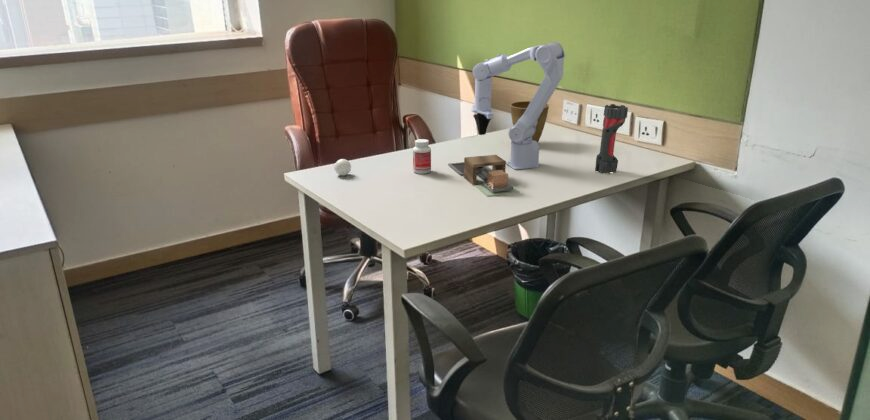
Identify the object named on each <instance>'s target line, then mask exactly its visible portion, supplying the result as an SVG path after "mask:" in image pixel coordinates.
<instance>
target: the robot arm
mask: <svg viewBox="0 0 870 420" xmlns="http://www.w3.org/2000/svg"><path fill="white" fill-rule="evenodd" d="M565 58H566V54H565V50H564V48H563V46H562V44H561V43H559V42H557V41H553V42H552V41H551V42H549V43H544V44H539V45H534V46H530V47H528V48H526V49H523V50H520V51H518V52H516V53H513V54H512V55H507V54H506V53H505V54H504V53H503V54H502V53H499V54H496V57H493V58H491V59H490V58H487V59H484V61H482V62H478V63H477V64H475V65H474V66H473V68H472V76H473V77H474V80H475V81H474V83H475V84H474V105H472V109H471V112H472V113H474V114H473V115H472V116H473V118H474V120H475V123H476V126H477V127H476V128H477V132H478V135H480V136H484V135H486V132H487V130H488V126H489V123H490V121H492V120H494V113H493V111H492V79H493V77H494V76H497V75H500V74H503V73H505V72H509V71H510V70H511V68H512V67H513V65H516V64H519V63H522V62H525V61H528V60H531V61H532V62H533V61H534V62H535V61H536V62H537V64H539V66H540V67H541V69H542V70H543V73H544V77H543V79H542V81H541V83H540V84H539V86H538V88H537V90H536V92H535V93H534V95H533V97H532V98H531V102H530V104H529V105H528V107H527V109H526V111H525V112H524V114H523V115H522V116H521V118H520V119H519V120H518V121H517V123H516V124H515V125H514V126H513V125H512V126H511V127H510V128H509V129H508V137H509V139H510V141H511V142H510V146H511V147H510V161H506V166H507V165H508V166H509V167H511V168H512V169H514V170H523V169H524V170H525V169H535V168H539V167H540V165H539V157H540V147H539V146H540V145H539V142H538V143H537V141H535V140H532V136H533V135H534V133H535V128H536V125H537V123H538V122H537V119H538V118H539V116H540V114H541V113H542V111H543V109H544V108H545V106H546V104H548V102H549V101H550V99H551V97H552V96H553V95H554V92H555V91H556V89H557V87H558V86H559V84H560V82H561V80H562V79H563V77H564V66H565V64H564V62H565V61H564V60H565Z"/></svg>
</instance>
